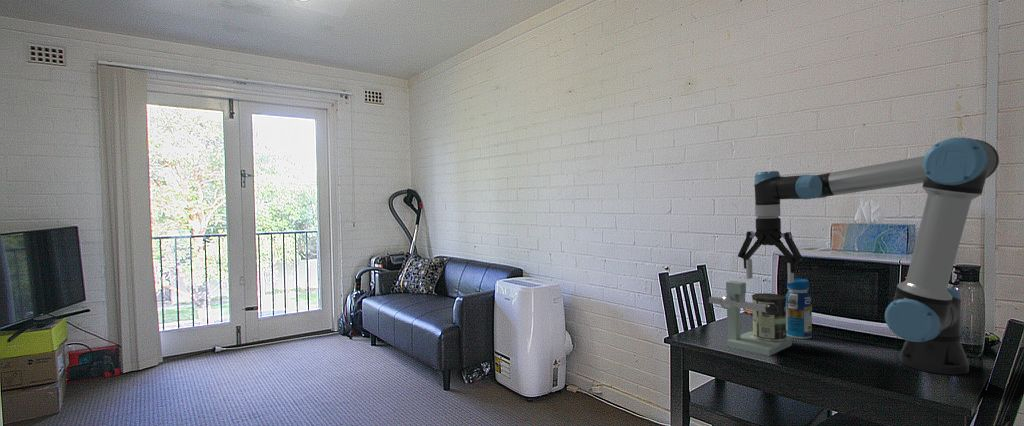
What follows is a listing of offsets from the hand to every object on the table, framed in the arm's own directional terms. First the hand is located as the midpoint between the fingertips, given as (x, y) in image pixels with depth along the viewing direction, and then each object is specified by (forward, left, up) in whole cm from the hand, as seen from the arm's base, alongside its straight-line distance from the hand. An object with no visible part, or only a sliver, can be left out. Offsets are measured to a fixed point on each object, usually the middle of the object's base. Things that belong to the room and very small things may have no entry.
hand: (769, 280), depth 166 cm
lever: (+3, +13, -9) cm, 16 cm away
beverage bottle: (-2, -16, -22) cm, 27 cm away
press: (+2, +3, -22) cm, 22 cm away
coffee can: (0, 0, -20) cm, 20 cm away
